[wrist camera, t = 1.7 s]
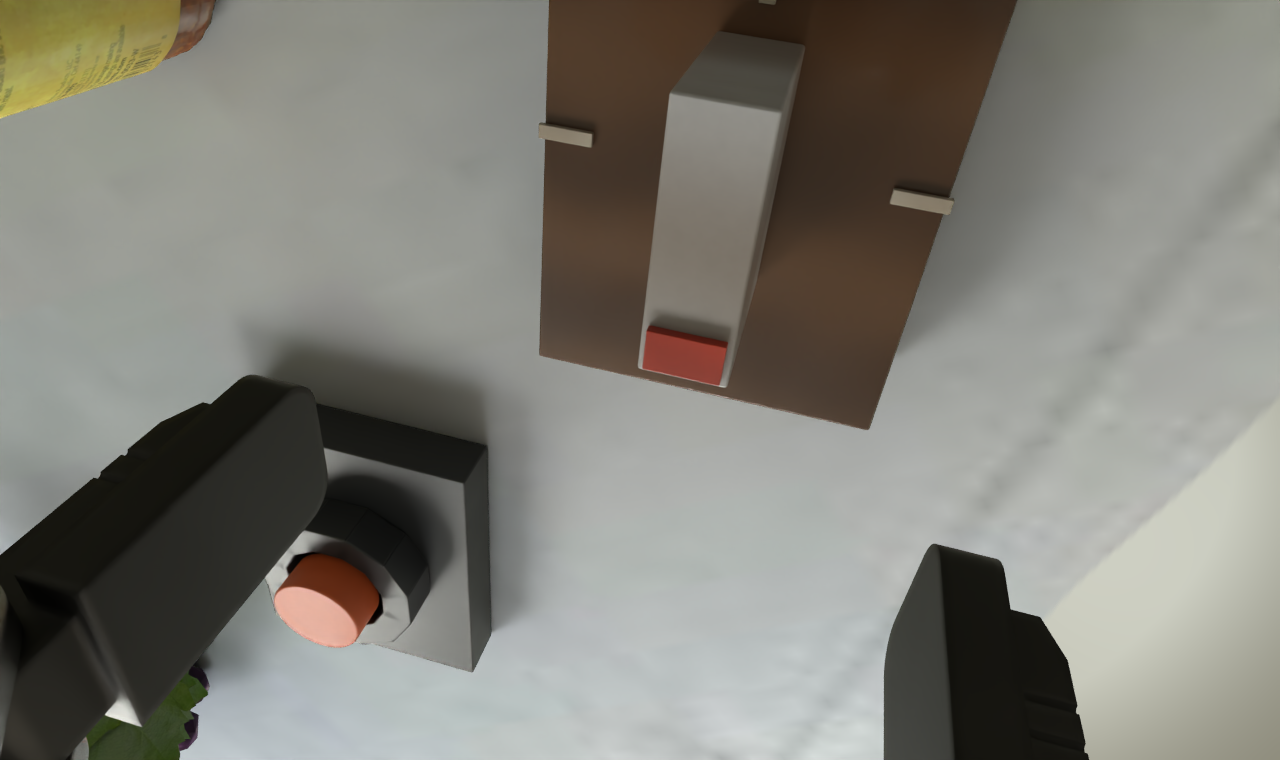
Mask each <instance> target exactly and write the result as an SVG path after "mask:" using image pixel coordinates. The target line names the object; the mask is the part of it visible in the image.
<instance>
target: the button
mask: <svg viewBox="0 0 1280 760" xmlns="http://www.w3.org/2000/svg"><path fill="white" fill-rule="evenodd" d="M274 604H275V608H276V610H277V612H278V614H279V616H280V617H281V618H282V620H283V621H284V622H285V623H286V624H287V625H288V626H289V627H290V628H291V629H292V630H294V631H295V632H296V633H298V634H299V635H301V636H303V637H304V638H306V639H308V640H310V641H312V642H315V643H317V644H320V645H323V646H328V647H336V648H338V647H346V646H349V645H351V644H352V643H354V642H355V641H356V640H357V638H358V637H359V635H360V634H361V632H362V631H363V629H364V627H365V626H366V624H367V623H368V621H369V620H370V618H371V617H372V615H373V613H374V612H375V610H376V609H377V607H378V605H379V593H378V590H377V589H376V588H375V586H374V585H373V584H372V583H371V581H370V580H369V579H368V578H367V576H366V575H365V574H364V573H362V572H361V571H359V570H358V569H356V568H355V567H353V566H352V565H350V564H349V563H347V562H345V561H344V560H342V559H339V558H335V557H332V556H328V555H324V554H321V553H316V554H311V555H308V556H306V557H304V558H303V559H302V560H301V561H300V562H299V563H298V565H297V566H296V567H295V568H294V570H293V571H292V572H291V573H290V575H289V576H288V577H287V579H286V580H285V581H284V582H283V584H282V585H281V586H280V587H279V589H278V590H277V591H276V593H275V597H274Z"/></svg>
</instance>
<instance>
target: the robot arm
mask: <svg viewBox="0 0 1280 760" xmlns="http://www.w3.org/2000/svg"><path fill="white" fill-rule="evenodd" d="M327 483H328V470H327V464H326V459H325V453H324V447H323V442H322V436H321V430H320V424H319V419H318V413H317V407H316V402H315V398H314V395H313V393H312V392H311V391H310V390H309V389H308V388H306V387H303V386H299V385H295V384H291V383H287V382H283V381H279V380H275V379H271V378H266V377H262V376H258V375H247V376H245V377H243V378H241V379H240V380H238V381H237V382H236V383H235V384H234V385H232V386H231V387H230V388H229V389H228V390H227V391H225V392H224V393H223V394H222V395H221V396H220V397H218V398H217V399H216V400H215V401H214V402H213V403H212V404H207V403H200V404H198V405H196V406H194V407H192V408H190V409H188V410H186V411H183V412H181V413H179V414H177V415H175V416H173V417H171V418H169V419H166V420H164V421H162V422H160V423H159V424H158V425H157V426H155V427H154V428H153V429H152V430H151V431H149V432H148V433H147V434H146V435H145V436H143V437H142V438H141V439H140V440H139V441H137V442H136V443H135V444H134V445H133V446H131V447H130V448H129V449H128V453H127V455H126V456H124V455H120V456H119V457H118V458H117V459H116V460H114V461H113V462H112V463H111V464H110V465H108V466H107V467H106V468H105V469H104V470H102V471H101V475H100V477H99V478H98V479H97V478H93V479H91V480H90V481H89V482H88V483H87V484H85V485H84V486H83V487H82V488H81V489H79V490H78V491H77V492H76V493H75V494H73V495H72V496H71V497H70V498H69V499H67V500H66V501H65V502H64V503H63V504H61V505H60V506H59V507H58V508H57V509H55V510H54V511H53V512H52V513H50V514H49V515H48V516H47V517H46V518H44V519H43V520H42V521H41V522H40V523H38V524H37V525H36V526H35V527H34V528H32V529H31V530H30V531H29V532H28V533H26V534H25V535H24V536H23V537H22V538H20V539H19V540H18V541H17V542H15V543H14V544H13V545H12V546H11V547H9V548H8V549H7V550H6V551H5V552H3V553H2V554H1V555H0V760H88V757H89V745H88V741H87V738H86V736H87V734H88V733H89V732H90V731H91V730H92V729H93V728H94V726H95V725H96V724H97V723H98V722H99V721H100V720H101V718H102V717H103V716H104V715H106V716H109V717H112V718H115V719H118V720H121V721H124V722H128V723H131V724H134V725H137V726H140V727H143V725H144V724H145V723H146V722H147V720H148V719H149V718H150V717H151V716H152V714H153V713H154V712H155V711H156V709H157V708H158V707H159V706H160V705H161V703H162V702H163V701H164V700H165V699H166V697H167V696H168V695H169V694H170V692H171V691H172V690H173V689H174V688H175V686H176V685H177V684H178V683H179V681H180V680H181V679H182V678H183V677H184V675H185V674H186V673H187V672H188V671H189V669H190V668H191V667H192V666H193V664H194V663H195V662H196V661H197V660H198V658H199V657H200V656H201V655H202V653H203V652H204V651H205V650H206V649H207V647H208V646H209V645H210V644H211V642H212V641H213V640H214V639H215V638H216V636H217V635H218V634H219V633H220V632H221V630H222V629H223V628H224V627H225V625H226V624H227V623H228V622H229V621H230V619H231V618H232V617H233V616H234V614H235V613H236V612H237V611H238V610H239V608H240V607H241V606H242V605H243V604H244V602H245V601H246V600H247V599H248V597H249V596H250V595H251V594H252V593H253V591H254V590H255V589H256V588H257V586H258V585H259V584H260V583H261V582H262V580H263V579H264V578H265V577H266V576H267V574H268V573H269V572H270V571H271V569H272V568H273V567H274V566H275V565H276V563H277V562H278V561H279V560H280V558H281V557H282V556H283V555H284V554H285V552H286V551H287V550H288V549H289V547H290V546H291V545H292V544H293V543H294V541H295V540H296V539H297V538H298V537H299V535H300V534H301V533H302V532H303V530H304V529H305V528H306V527H307V526H308V524H309V523H310V522H311V521H312V519H313V518H314V517H315V515H316V514H317V512H318V510H319V509H320V506H321V504H322V502H323V499H324V497H325V493H326V489H327ZM1076 708H1077V702H1076V697H1075V693H1074V688H1073V683H1072V679H1071V674H1070V669H1069V665H1068V660H1067V659H1066V657H1065V656H1064V654H1063V652H1062V651H1061V649H1060V648H1059V646H1058V645H1057V643H1056V641H1055V640H1054V638H1053V637H1052V635H1051V633H1050V632H1049V631H1048V629H1047V627H1046V626H1045V624H1044V622H1043V621H1042V619H1041V618H1040V617H1038V616H1034V615H1030V614H1026V613H1022V612H1018V611H1014V610H1010V603H1009V597H1008V591H1007V584H1006V578H1005V572H1004V568H1003V565H1002V563H1001V562H1000V561H999V560H998V559H994V558H990V557H986V556H982V555H978V554H974V553H970V552H966V551H962V550H958V549H954V548H950V547H946V546H942V545H938V544H932V545H931V546H930V547H929V548H928V550H927V551H926V553H925V555H924V557H923V560H922V562H921V564H920V566H919V568H918V571H917V573H916V575H915V577H914V579H913V582H912V584H911V586H910V588H909V590H908V593H907V595H906V597H905V599H904V602H903V604H902V606H901V608H900V610H899V613H898V615H897V617H896V619H895V622H894V624H893V627H892V630H891V633H890V637H889V641H888V646H887V651H886V658H885V667H884V760H1089V757H1088V754H1087V753H1085V752H1084V746H1085V739H1084V734H1083V729H1082V725H1081V720H1080V716H1079V715H1078V714H1076Z"/></svg>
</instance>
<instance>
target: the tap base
mask: <svg viewBox="0 0 1280 760" xmlns="http://www.w3.org/2000/svg"><path fill="white" fill-rule="evenodd" d="M1016 3H1017V0H549V24H548V60H547V96H546V123H542V122H541V123H540V124H539V138H542V139H545V168H544V204H543V240H542V276H541V312H540V348H539V354H540V356H544V357H548V358H553V359H557V360H561V361H566V362H570V363H574V364H579V365H583V366H588V367H592V368H596V369H601V370H605V371H610V372H614V373H618V374H623V375H627V376H632V377H636V378H640V379H645V380H649V381H653V382H658V383H662V384H667V385H671V386H675V387H680V388H684V389H689V390H693V391H697V392H702V393H706V394H710V395H715V396H719V397H724V398H728V399H732V400H737V401H741V402H746V403H750V404H754V405H759V406H763V407H767V408H772V409H776V410H781V411H785V412H789V413H794V414H798V415H803V416H807V417H811V418H816V419H820V420H825V421H829V422H833V423H838V424H842V425H846V426H851V427H855V428H860V429H864V430H868V429H869V428H870V426H871V423H872V420H873V417H874V414H875V411H876V408H877V405H878V402H879V400H880V397H881V394H882V391H883V388H884V385H885V382H886V379H887V376H888V373H889V371H890V368H891V365H892V362H893V359H894V356H895V353H896V350H897V347H898V345H899V342H900V339H901V336H902V333H903V330H904V327H905V324H906V321H907V318H908V316H909V313H910V310H911V307H912V304H913V301H914V298H915V295H916V292H917V290H918V287H919V284H920V281H921V278H922V275H923V272H924V269H925V266H926V263H927V261H928V258H929V255H930V252H931V249H932V246H933V243H934V240H935V237H936V235H937V232H938V229H939V226H940V223H941V220H942V217H943V214H947V215H950V213H951V210H952V207H953V204H954V199H953V198H949V197H950V194H951V191H952V188H953V185H954V182H955V180H956V177H957V174H958V171H959V168H960V165H961V162H962V159H963V156H964V153H965V151H966V148H967V145H968V142H969V139H970V136H971V133H972V130H973V127H974V125H975V122H976V119H977V116H978V113H979V110H980V107H981V104H982V101H983V98H984V96H985V93H986V90H987V87H988V84H989V81H990V78H991V75H992V72H993V70H994V67H995V64H996V61H997V58H998V55H999V52H1000V49H1001V46H1002V43H1003V41H1004V38H1005V35H1006V32H1007V29H1008V26H1009V23H1010V20H1011V17H1012V15H1013V12H1014V9H1015V6H1016ZM718 31H722V32H728V33H734V34H740V35H747V36H753V37H759V38H765V39H771V40H777V41H784V42H790V43H796V44H802V45H804V46H805V52H804V56H803V61H802V66H801V71H800V76H799V80H798V85H797V90H796V95H795V100H794V104H793V109H792V114H791V119H790V124H789V128H788V133H787V138H786V143H785V148H784V152H783V157H782V162H781V167H780V172H779V176H778V181H777V186H776V191H775V196H774V200H773V205H772V210H771V215H770V220H769V224H768V229H767V234H766V239H765V244H764V248H763V253H762V258H761V263H760V268H759V272H758V277H757V282H756V285H755V289H754V293H753V296H752V300H751V303H750V307H749V311H748V314H747V318H746V321H745V325H744V328H743V332H742V336H741V339H740V343H739V346H738V350H737V353H736V357H735V361H734V364H733V368H732V371H731V375H730V379H729V382H728V385H727V387H724V388H723V387H719V386H715V385H710V384H706V383H701V382H697V381H692V380H688V379H684V378H679V377H675V376H670V375H666V374H661V373H657V372H653V371H648V370H644V369H640V368H638V359H639V351H640V342H641V333H642V325H643V316H644V308H645V299H646V291H647V282H648V274H649V265H650V256H651V248H652V239H653V231H654V222H655V214H656V205H657V197H658V188H659V179H660V171H661V162H662V154H663V145H664V137H665V128H666V120H667V111H668V102H669V94H670V92H671V90H672V89H673V88H674V86H675V85H676V84H677V83H678V81H679V80H680V79H681V78H682V76H683V75H684V74H685V72H686V71H687V70H688V69H689V67H690V66H691V65H692V64H693V62H694V61H695V60H696V58H697V57H698V56H699V55H700V53H701V52H702V51H703V49H704V48H705V47H706V46H707V44H708V43H709V42H710V41H711V39H712V38H713V37H714V35H715V34H716V33H717V32H718Z"/></svg>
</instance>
